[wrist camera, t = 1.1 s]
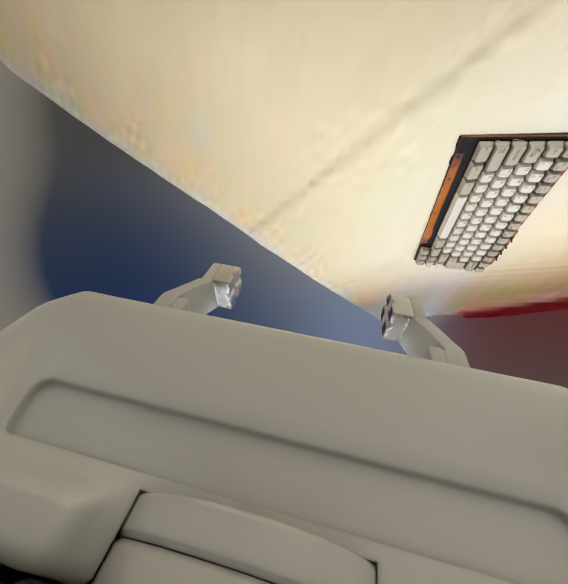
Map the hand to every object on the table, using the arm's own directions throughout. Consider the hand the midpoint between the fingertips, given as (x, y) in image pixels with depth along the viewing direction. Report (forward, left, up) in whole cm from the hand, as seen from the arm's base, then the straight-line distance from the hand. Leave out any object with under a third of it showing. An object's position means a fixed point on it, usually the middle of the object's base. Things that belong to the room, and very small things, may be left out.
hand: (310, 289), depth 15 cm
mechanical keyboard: (+37, +26, -47) cm, 65 cm away
